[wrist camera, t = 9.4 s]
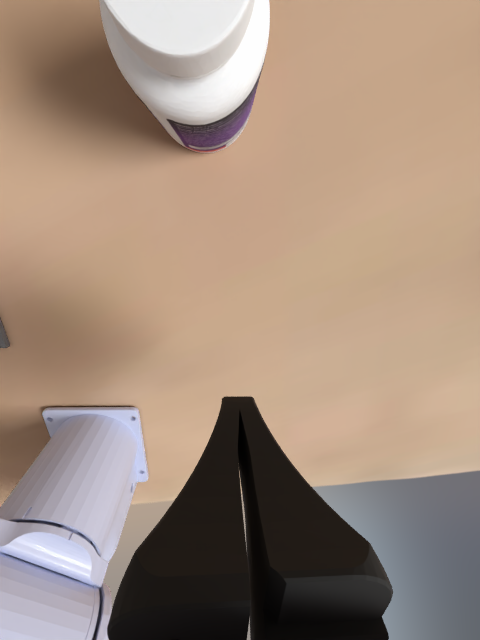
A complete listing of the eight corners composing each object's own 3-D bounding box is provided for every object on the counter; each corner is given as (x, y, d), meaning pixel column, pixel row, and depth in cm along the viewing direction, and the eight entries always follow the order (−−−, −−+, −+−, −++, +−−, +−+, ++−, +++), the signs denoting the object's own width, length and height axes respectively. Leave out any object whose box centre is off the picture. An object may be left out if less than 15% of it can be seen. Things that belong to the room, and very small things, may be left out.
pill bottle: (270, 78, 14) (342, -118, 6) (222, 173, 16) (218, 139, 7) (180, 4, 13) (87, -414, 4) (138, 117, 15) (10, -10, 6)
